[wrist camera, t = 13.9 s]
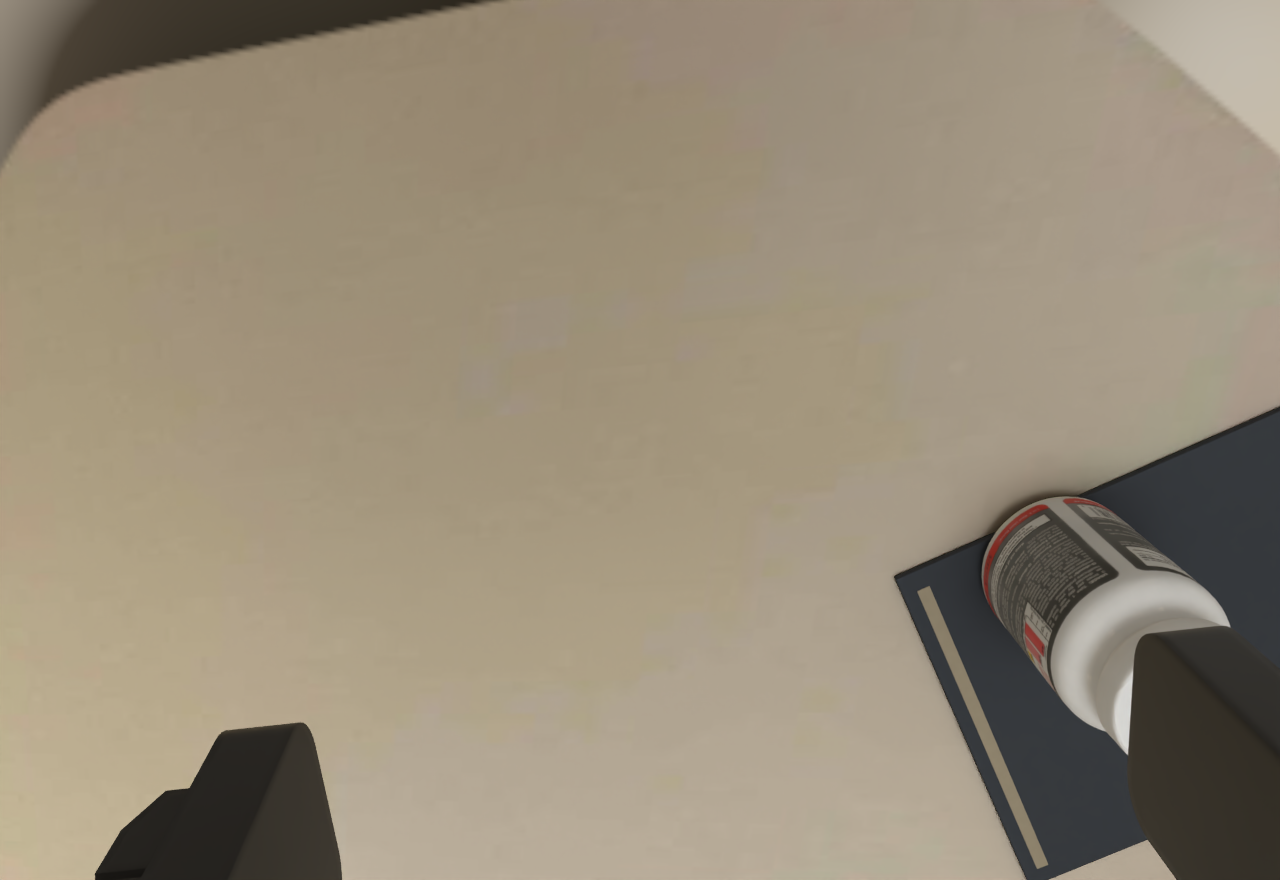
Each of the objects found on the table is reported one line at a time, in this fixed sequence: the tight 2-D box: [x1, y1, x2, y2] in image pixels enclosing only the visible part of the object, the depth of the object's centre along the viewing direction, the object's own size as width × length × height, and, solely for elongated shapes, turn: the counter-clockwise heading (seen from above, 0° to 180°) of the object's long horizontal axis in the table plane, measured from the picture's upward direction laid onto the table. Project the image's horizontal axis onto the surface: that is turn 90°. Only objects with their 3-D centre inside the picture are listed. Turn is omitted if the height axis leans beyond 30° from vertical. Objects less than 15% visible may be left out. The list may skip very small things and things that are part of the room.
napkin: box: [894, 407, 1280, 880], centre depth 43 cm, size 16×16×1 cm
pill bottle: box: [982, 496, 1231, 755], centre depth 37 cm, size 6×6×10 cm
